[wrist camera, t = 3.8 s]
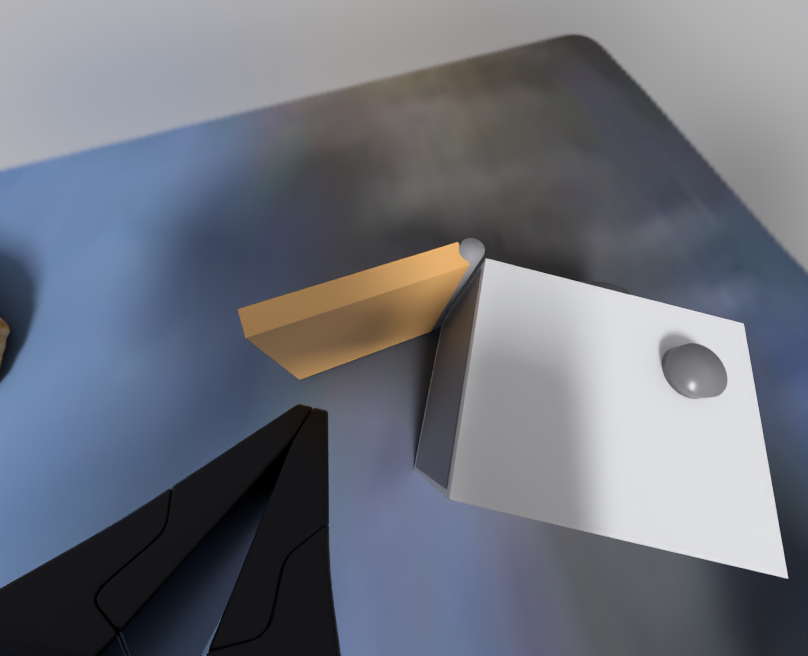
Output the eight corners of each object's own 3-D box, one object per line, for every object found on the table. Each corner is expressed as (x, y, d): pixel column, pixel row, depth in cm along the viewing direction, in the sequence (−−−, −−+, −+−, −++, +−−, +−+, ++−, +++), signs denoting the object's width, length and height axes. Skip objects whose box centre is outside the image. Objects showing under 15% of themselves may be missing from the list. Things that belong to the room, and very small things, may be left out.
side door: (300, 380, 16) (243, 336, 9) (293, 358, 17) (233, 298, 9) (441, 328, 18) (489, 256, 11) (432, 309, 19) (473, 227, 11)
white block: (602, 514, 16) (811, 586, 8) (412, 470, 16) (452, 502, 8) (601, 343, 19) (753, 284, 11) (444, 304, 19) (494, 218, 11)
